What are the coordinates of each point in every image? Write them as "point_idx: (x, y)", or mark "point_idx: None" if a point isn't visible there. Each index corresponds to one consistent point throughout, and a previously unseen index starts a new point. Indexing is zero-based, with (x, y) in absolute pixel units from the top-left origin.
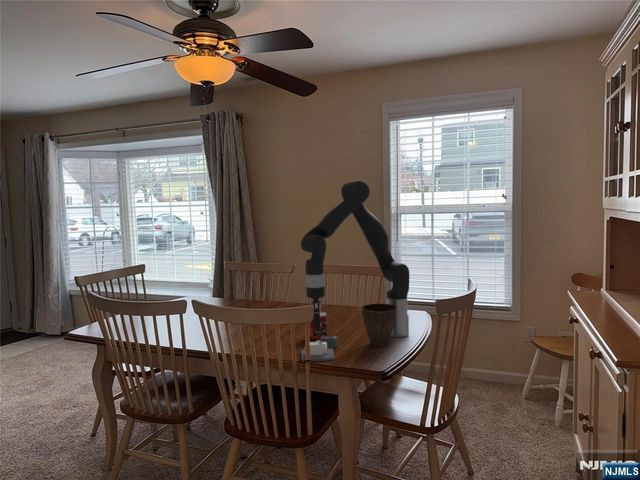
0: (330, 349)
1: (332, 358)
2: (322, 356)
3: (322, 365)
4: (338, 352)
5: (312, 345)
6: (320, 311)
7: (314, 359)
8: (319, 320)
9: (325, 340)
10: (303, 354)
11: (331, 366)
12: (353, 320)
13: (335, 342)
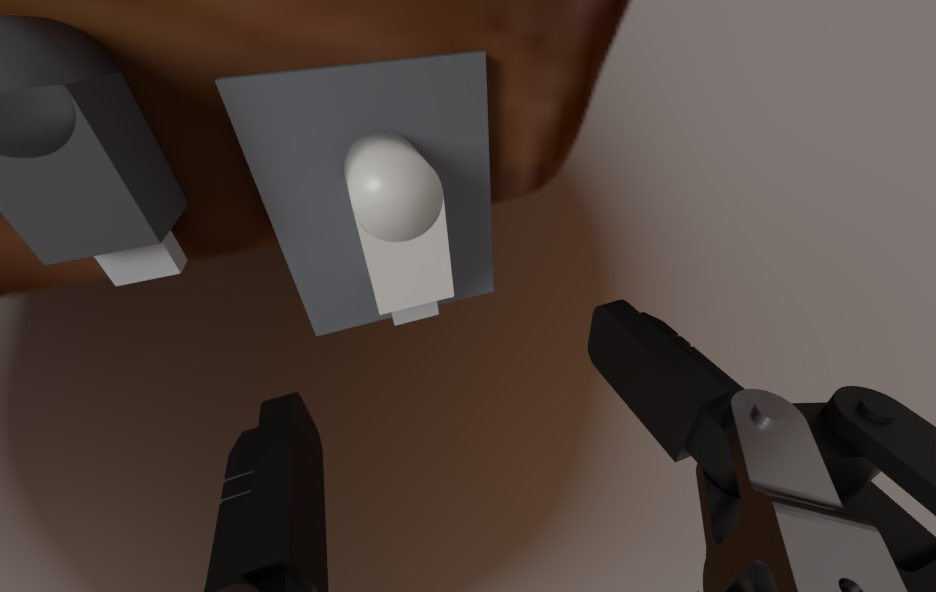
0: (259, 107)
1: (484, 69)
2: (453, 162)
3: (564, 141)
4: (255, 7)
5: (450, 274)
6: (866, 531)
7: (488, 212)
8: (703, 372)
9: (141, 190)
10: None
11: (592, 70)
12: None
13: (69, 51)
